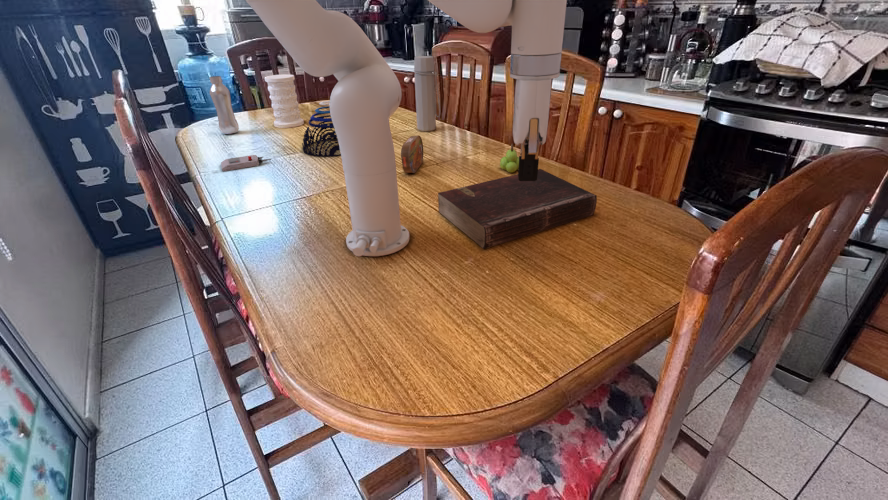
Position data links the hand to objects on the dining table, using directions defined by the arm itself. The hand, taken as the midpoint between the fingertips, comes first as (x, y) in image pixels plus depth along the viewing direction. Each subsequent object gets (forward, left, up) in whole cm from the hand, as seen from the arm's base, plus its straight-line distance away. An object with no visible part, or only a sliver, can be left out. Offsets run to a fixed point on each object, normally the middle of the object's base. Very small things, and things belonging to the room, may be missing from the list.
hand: (527, 179), depth 73 cm
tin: (+44, +28, -14) cm, 54 cm away
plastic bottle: (+79, +104, -14) cm, 132 cm away
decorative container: (+93, +87, -14) cm, 128 cm away
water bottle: (+86, +29, -14) cm, 92 cm away
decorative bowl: (+63, +58, -14) cm, 87 cm away
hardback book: (+15, 0, -14) cm, 21 cm away
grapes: (+45, 0, -14) cm, 47 cm away
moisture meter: (+45, +81, -14) cm, 93 cm away
